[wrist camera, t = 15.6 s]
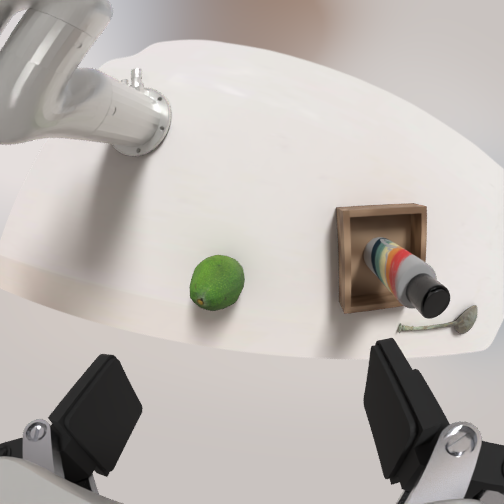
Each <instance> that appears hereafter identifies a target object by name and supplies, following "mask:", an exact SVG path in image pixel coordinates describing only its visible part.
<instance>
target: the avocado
mask: <svg viewBox="0 0 504 504" xmlns="http://www.w3.org/2000/svg"><path fill="white" fill-rule="evenodd" d="M244 280H245V279H244V273H243V268H242V266H241V265H240V264H239V263H238V261H236V260H235V259H233V258H230V257H228V256H222V255H215V256H211V257H208V258H206V259H205V260H203V261H202V262H201V263H200V264H199V265H198V266H197V267H196V268H195V270H194V273H193V276H192V279H191V283H190V298H191V299H192V300H193V302H194V303H195V304H196V305H198V306H199V307H201V308H203V309H206V310H210V311H216V310H220V309H224V308H226V307H228V306H230V305H232V304H234V303H235V302H236V301H237V299H238V297H239V295H240V293H241V291H242V289H243V287H244Z"/></svg>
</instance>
